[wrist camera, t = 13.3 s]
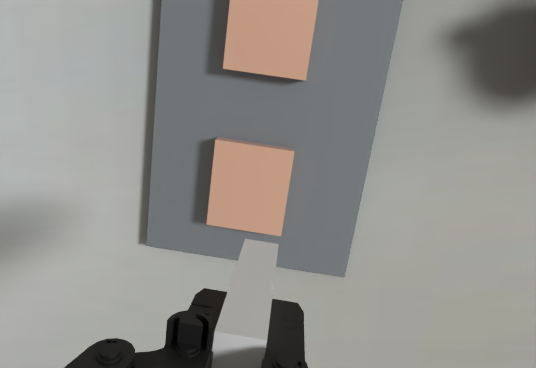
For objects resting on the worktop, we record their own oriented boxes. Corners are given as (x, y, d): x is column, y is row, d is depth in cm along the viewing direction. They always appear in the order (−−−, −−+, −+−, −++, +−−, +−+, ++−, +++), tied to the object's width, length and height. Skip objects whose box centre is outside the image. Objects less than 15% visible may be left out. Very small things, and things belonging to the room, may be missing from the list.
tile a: (321, -20, 32) (237, -31, 32) (322, -26, 30) (233, -38, 30) (305, 80, 34) (226, 69, 34) (305, 80, 32) (222, 68, 32)
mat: (172, -90, 32) (167, -96, 31) (411, -58, 32) (416, -64, 31) (150, 241, 40) (146, 245, 39) (343, 271, 40) (344, 277, 38)
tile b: (294, 148, 36) (219, 136, 36) (294, 151, 34) (215, 139, 34) (281, 229, 38) (210, 218, 38) (281, 236, 36) (206, 224, 36)
